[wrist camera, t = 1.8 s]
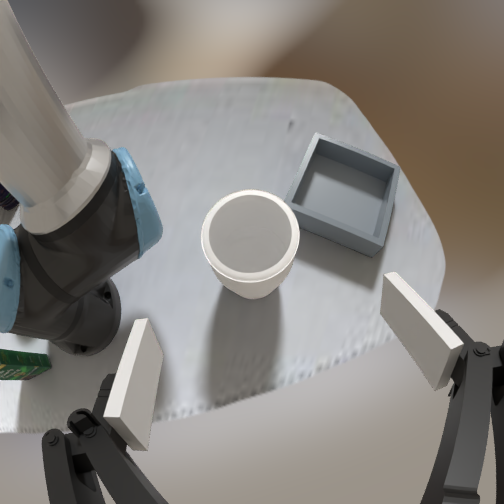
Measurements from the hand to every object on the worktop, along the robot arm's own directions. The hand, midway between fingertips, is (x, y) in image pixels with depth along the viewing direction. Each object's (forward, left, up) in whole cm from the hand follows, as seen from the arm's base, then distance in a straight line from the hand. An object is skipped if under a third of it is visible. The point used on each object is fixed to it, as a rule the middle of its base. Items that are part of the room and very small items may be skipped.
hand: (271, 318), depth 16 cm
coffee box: (-34, -24, -28) cm, 50 cm away
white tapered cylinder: (-6, +9, -28) cm, 29 cm away
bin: (+3, +26, -27) cm, 38 cm away
